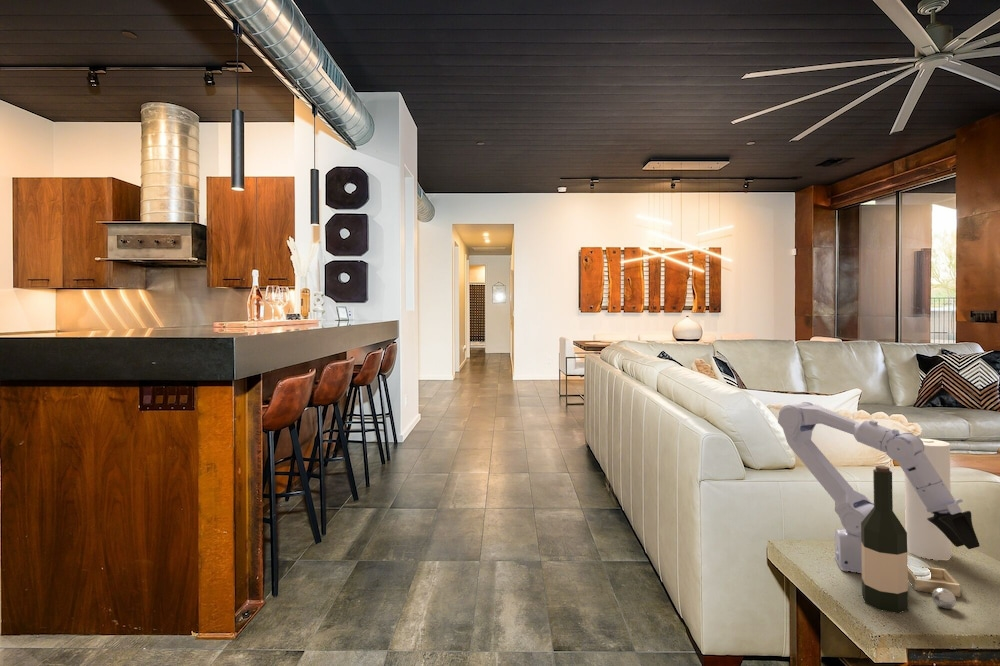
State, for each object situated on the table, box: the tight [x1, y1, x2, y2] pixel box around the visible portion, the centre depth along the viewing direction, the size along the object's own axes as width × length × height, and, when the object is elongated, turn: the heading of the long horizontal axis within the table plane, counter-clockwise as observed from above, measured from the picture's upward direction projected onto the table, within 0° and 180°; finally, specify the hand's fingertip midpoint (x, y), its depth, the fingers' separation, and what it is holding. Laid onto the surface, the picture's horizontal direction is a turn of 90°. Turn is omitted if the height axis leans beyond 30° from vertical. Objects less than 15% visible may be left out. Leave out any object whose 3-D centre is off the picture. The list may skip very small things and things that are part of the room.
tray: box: [908, 566, 961, 597], centre depth 124 cm, size 8×8×3 cm
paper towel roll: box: [904, 437, 952, 561], centre depth 140 cm, size 9×9×30 cm
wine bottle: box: [861, 465, 909, 614], centre depth 117 cm, size 8×8×30 cm
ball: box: [931, 588, 957, 609], centre depth 114 cm, size 4×4×4 cm
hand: (967, 546), depth 115 cm, fingers open, 7 cm apart
